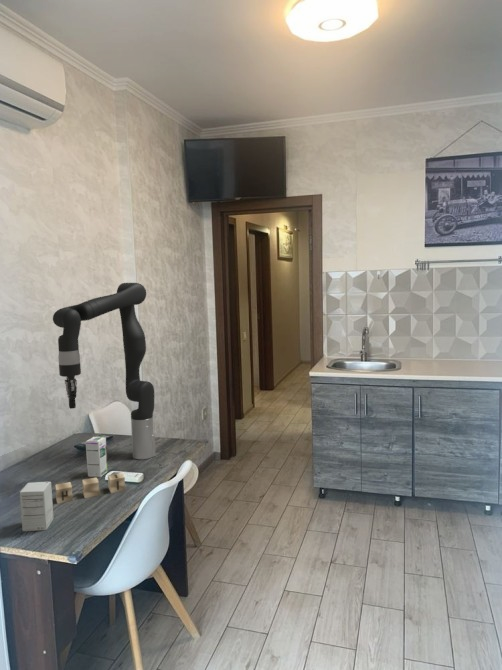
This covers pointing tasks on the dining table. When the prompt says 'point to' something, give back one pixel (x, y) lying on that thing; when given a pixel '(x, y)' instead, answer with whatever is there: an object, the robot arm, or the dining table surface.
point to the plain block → (90, 487)
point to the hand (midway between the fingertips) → (72, 407)
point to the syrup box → (96, 456)
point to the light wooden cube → (63, 492)
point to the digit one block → (116, 482)
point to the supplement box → (36, 506)
